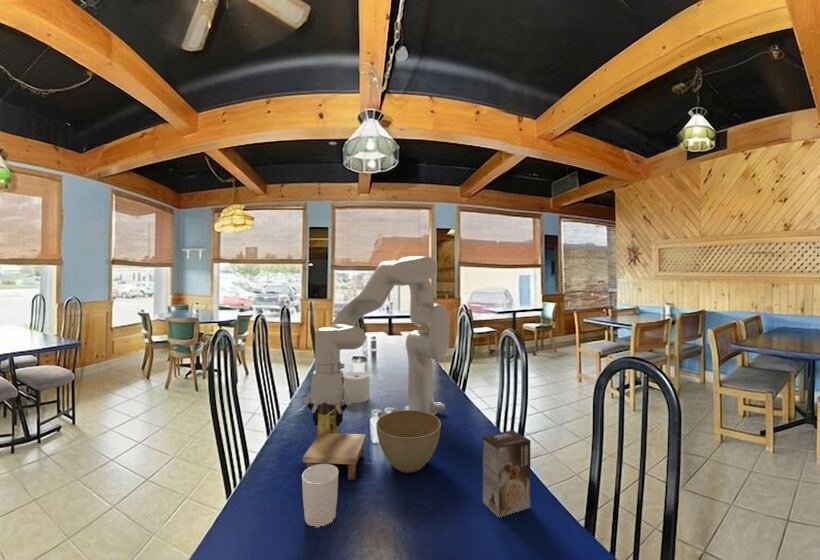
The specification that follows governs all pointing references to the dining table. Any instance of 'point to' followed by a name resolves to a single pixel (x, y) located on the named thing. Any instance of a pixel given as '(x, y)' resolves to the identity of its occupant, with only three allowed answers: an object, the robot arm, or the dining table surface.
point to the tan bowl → (408, 438)
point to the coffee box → (506, 473)
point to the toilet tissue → (357, 386)
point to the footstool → (336, 450)
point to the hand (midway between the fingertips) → (327, 423)
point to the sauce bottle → (327, 418)
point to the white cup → (320, 494)
